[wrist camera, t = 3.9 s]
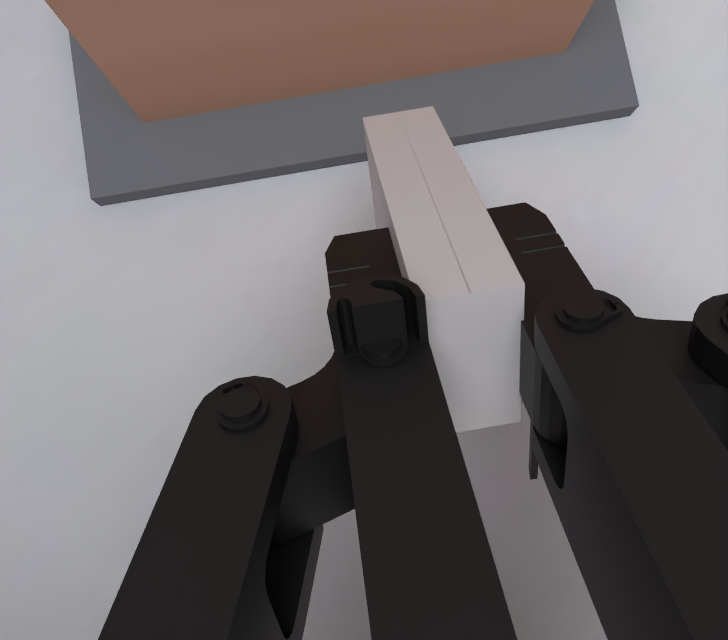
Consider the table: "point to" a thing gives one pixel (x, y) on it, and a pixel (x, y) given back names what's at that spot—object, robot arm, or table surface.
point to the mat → (346, 117)
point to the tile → (300, 44)
